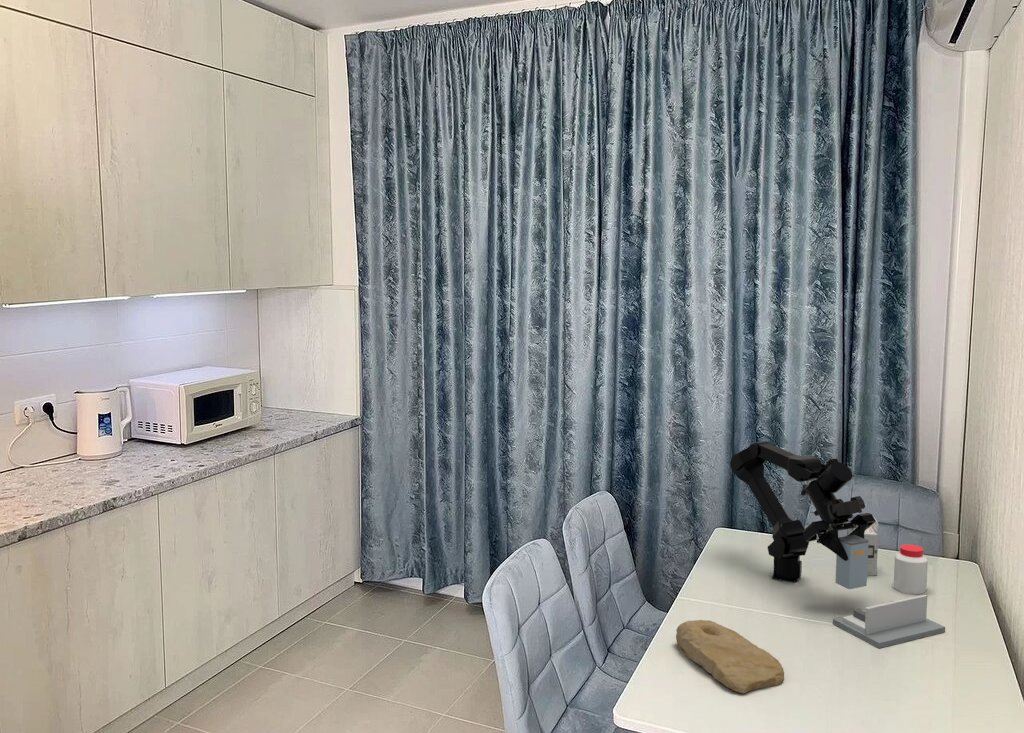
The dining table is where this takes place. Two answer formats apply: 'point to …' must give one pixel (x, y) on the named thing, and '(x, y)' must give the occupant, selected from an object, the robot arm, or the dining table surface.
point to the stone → (728, 656)
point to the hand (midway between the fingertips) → (856, 558)
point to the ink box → (872, 548)
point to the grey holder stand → (891, 622)
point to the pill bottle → (910, 570)
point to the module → (853, 562)
